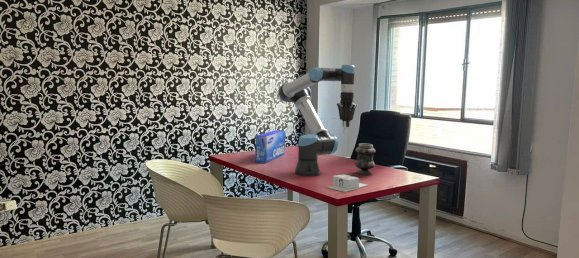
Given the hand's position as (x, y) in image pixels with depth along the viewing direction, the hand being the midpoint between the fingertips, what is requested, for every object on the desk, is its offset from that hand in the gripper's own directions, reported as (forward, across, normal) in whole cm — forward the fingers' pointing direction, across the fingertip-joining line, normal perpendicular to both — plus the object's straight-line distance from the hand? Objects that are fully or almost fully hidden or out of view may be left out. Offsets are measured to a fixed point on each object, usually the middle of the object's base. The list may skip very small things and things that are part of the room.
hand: (345, 132), depth 256 cm
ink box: (+23, +10, -18) cm, 31 cm away
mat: (+26, +16, -18) cm, 36 cm away
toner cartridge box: (+27, -71, +8) cm, 77 cm away
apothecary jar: (+27, +2, +18) cm, 32 cm away
